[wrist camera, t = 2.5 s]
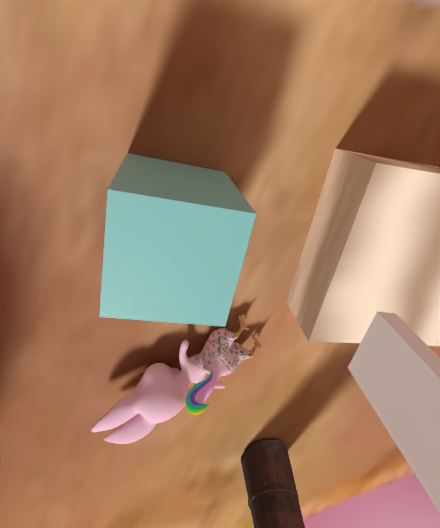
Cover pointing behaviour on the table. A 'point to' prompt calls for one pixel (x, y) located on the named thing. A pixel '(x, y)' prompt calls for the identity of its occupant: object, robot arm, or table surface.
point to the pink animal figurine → (175, 387)
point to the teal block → (172, 243)
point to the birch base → (371, 250)
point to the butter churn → (271, 486)
